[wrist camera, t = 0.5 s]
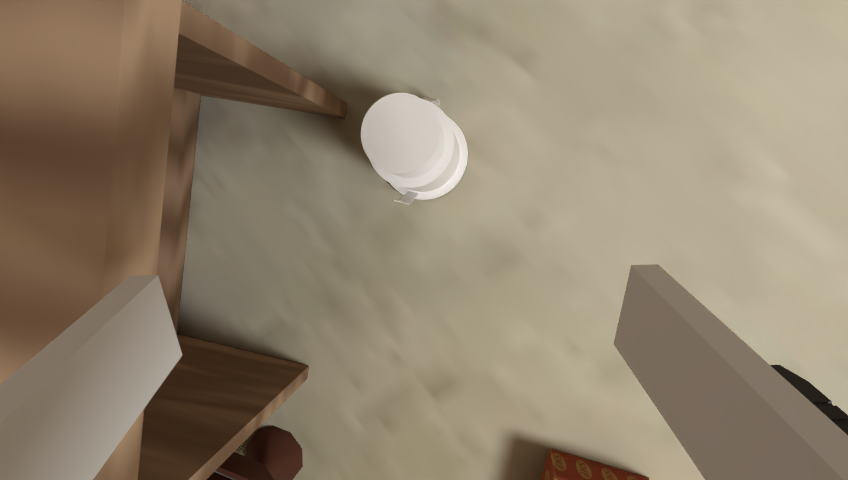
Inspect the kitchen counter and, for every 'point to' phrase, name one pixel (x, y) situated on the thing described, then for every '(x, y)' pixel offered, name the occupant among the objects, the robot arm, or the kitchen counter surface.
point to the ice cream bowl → (264, 458)
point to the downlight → (414, 146)
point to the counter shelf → (127, 200)
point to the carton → (580, 469)
